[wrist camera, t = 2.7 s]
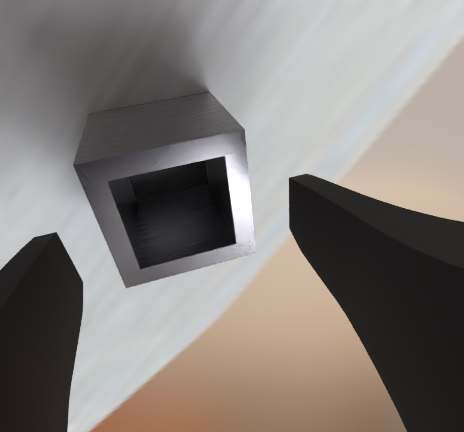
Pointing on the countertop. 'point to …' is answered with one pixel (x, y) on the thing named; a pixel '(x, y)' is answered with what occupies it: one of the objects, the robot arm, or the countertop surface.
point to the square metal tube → (174, 203)
